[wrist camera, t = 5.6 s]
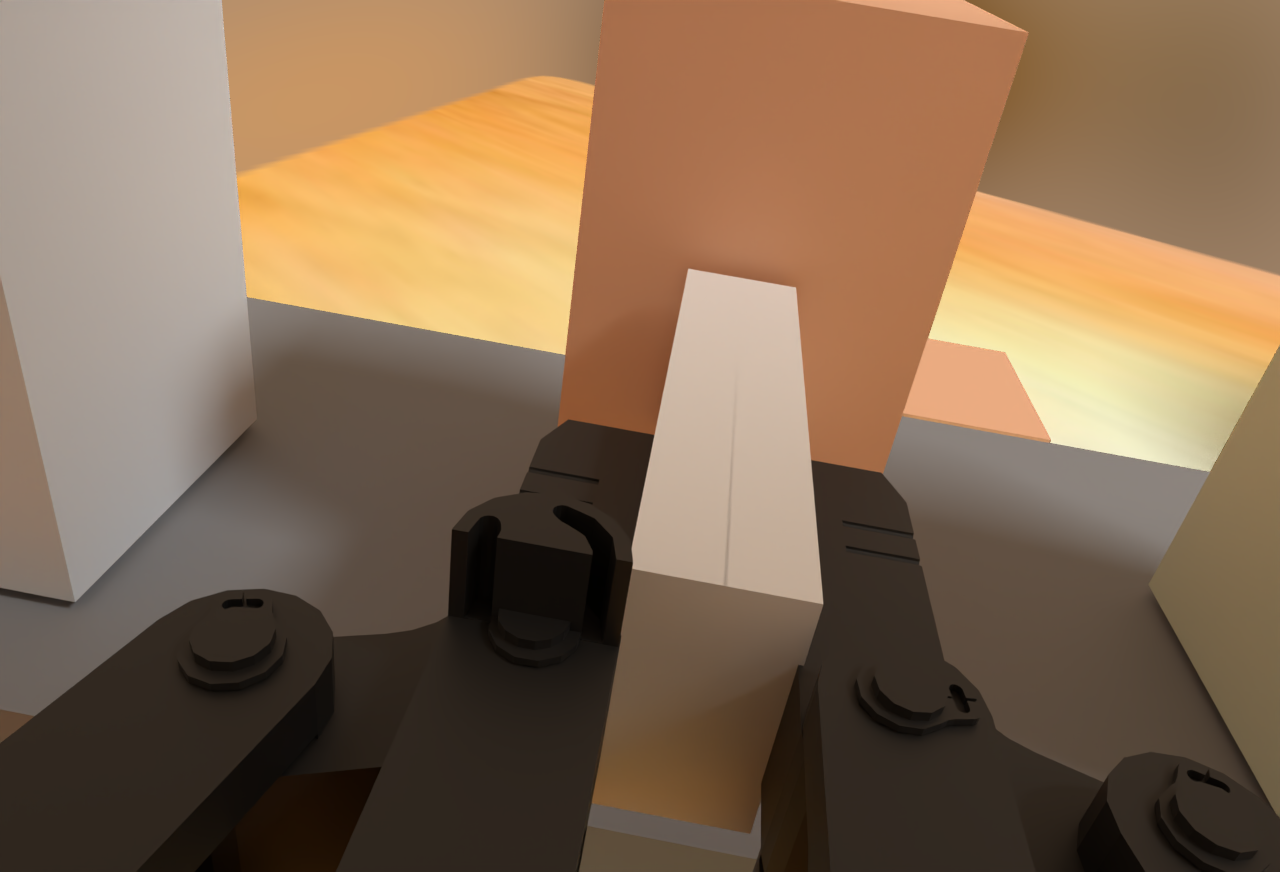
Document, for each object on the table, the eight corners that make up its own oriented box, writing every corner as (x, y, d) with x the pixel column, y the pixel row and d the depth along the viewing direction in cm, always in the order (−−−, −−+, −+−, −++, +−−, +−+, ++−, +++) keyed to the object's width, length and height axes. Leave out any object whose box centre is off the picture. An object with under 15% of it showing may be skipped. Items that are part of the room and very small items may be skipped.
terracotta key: (809, 470, 21) (945, -10, 16) (822, 655, 16) (1028, 32, 11) (594, 430, 21) (660, -57, 16) (538, 600, 16) (608, -39, 11)
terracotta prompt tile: (999, 367, 32) (1004, 352, 32) (1043, 457, 27) (1050, 440, 26) (827, 337, 32) (832, 321, 32) (838, 420, 27) (843, 402, 27)
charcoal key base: (1284, 536, 25) (1312, 490, 24) (1767, 1131, 13) (1855, 1077, 12) (139, 326, 26) (131, 276, 25) (-407, 693, 14) (-454, 618, 13)
